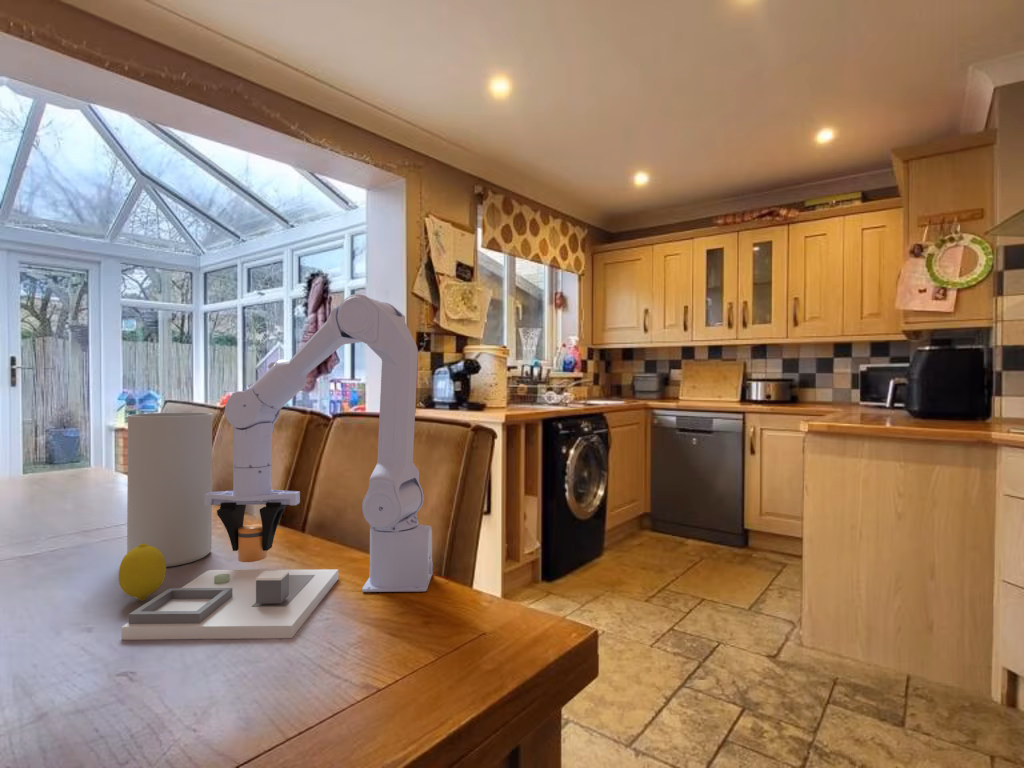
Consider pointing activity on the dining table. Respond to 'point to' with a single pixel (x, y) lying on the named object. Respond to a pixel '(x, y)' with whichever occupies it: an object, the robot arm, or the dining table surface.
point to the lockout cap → (250, 543)
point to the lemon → (142, 571)
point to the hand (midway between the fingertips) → (252, 549)
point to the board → (229, 607)
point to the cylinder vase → (170, 484)
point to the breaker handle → (272, 587)
